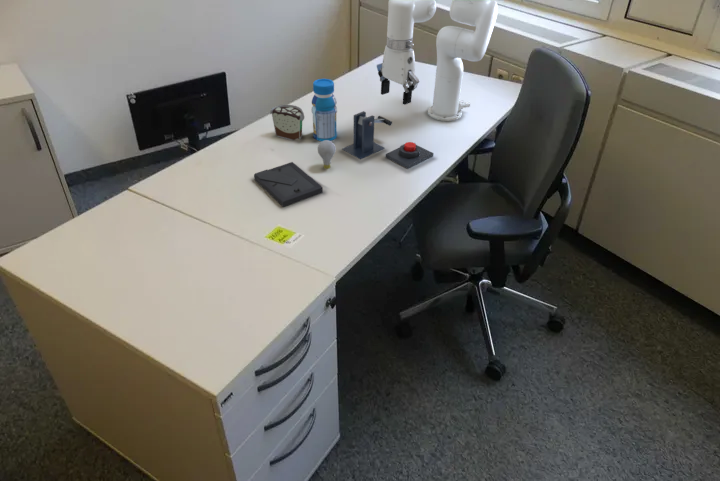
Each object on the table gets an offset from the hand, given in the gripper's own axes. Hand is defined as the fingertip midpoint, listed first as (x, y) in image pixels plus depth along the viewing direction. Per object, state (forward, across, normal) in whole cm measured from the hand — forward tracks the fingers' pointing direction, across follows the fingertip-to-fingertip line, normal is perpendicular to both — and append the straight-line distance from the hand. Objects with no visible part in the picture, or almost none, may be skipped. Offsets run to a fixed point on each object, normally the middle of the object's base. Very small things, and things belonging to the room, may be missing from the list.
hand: (395, 98), depth 170 cm
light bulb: (+19, +4, +24) cm, 31 cm away
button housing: (+18, -8, 0) cm, 20 cm away
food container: (+18, +30, +19) cm, 40 cm away
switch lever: (+10, +6, +4) cm, 12 cm away
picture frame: (+19, +4, +39) cm, 44 cm away
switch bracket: (+18, +6, +8) cm, 21 cm away
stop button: (+15, -8, 0) cm, 17 cm away
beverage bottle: (+18, +21, +12) cm, 30 cm away
